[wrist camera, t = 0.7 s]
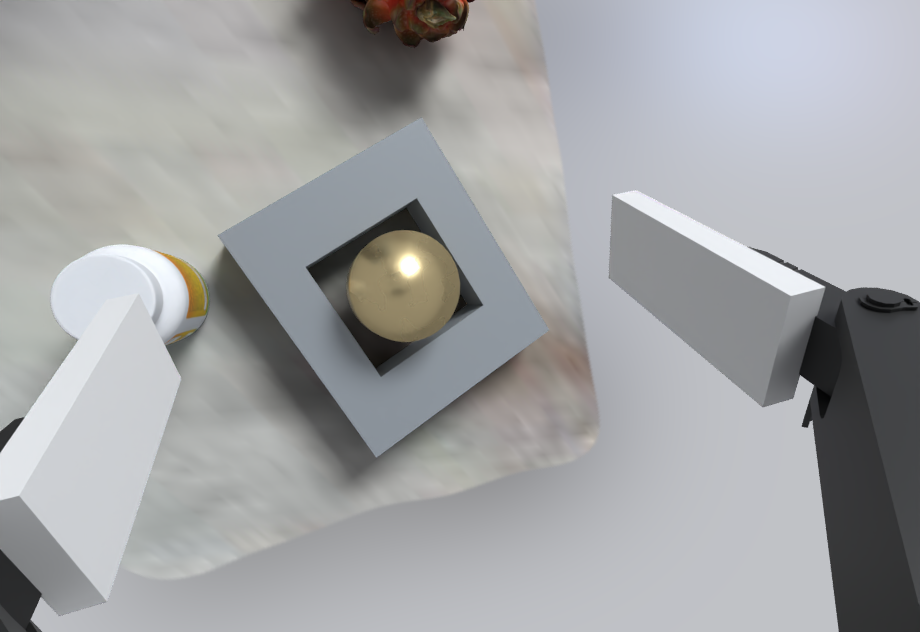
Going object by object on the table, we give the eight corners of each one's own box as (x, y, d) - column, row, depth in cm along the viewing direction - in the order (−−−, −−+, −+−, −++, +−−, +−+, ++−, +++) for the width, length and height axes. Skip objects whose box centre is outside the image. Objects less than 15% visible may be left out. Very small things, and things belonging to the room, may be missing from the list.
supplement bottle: (145, 237, 31) (77, 211, 22) (228, 285, 33) (198, 280, 23) (92, 314, 30) (-2, 321, 21) (179, 359, 32) (128, 384, 23)
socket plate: (226, 241, 32) (217, 235, 29) (410, 134, 36) (421, 117, 32) (369, 442, 35) (376, 457, 32) (527, 327, 38) (549, 330, 35)
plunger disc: (324, 271, 31) (326, 269, 28) (413, 215, 32) (421, 209, 30) (384, 358, 32) (391, 363, 30) (467, 301, 33) (479, 301, 31)
